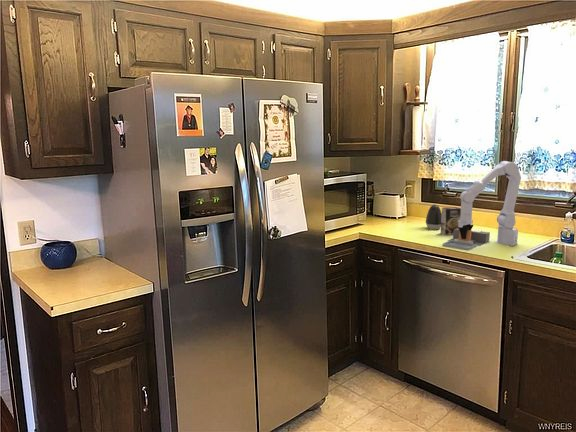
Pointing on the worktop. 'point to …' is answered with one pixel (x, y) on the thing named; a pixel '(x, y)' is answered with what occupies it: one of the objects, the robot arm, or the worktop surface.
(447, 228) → the coffee box
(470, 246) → the collection tray
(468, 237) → the end ticket
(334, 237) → the worktop surface
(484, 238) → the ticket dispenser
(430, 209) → the dark grey egg shape
